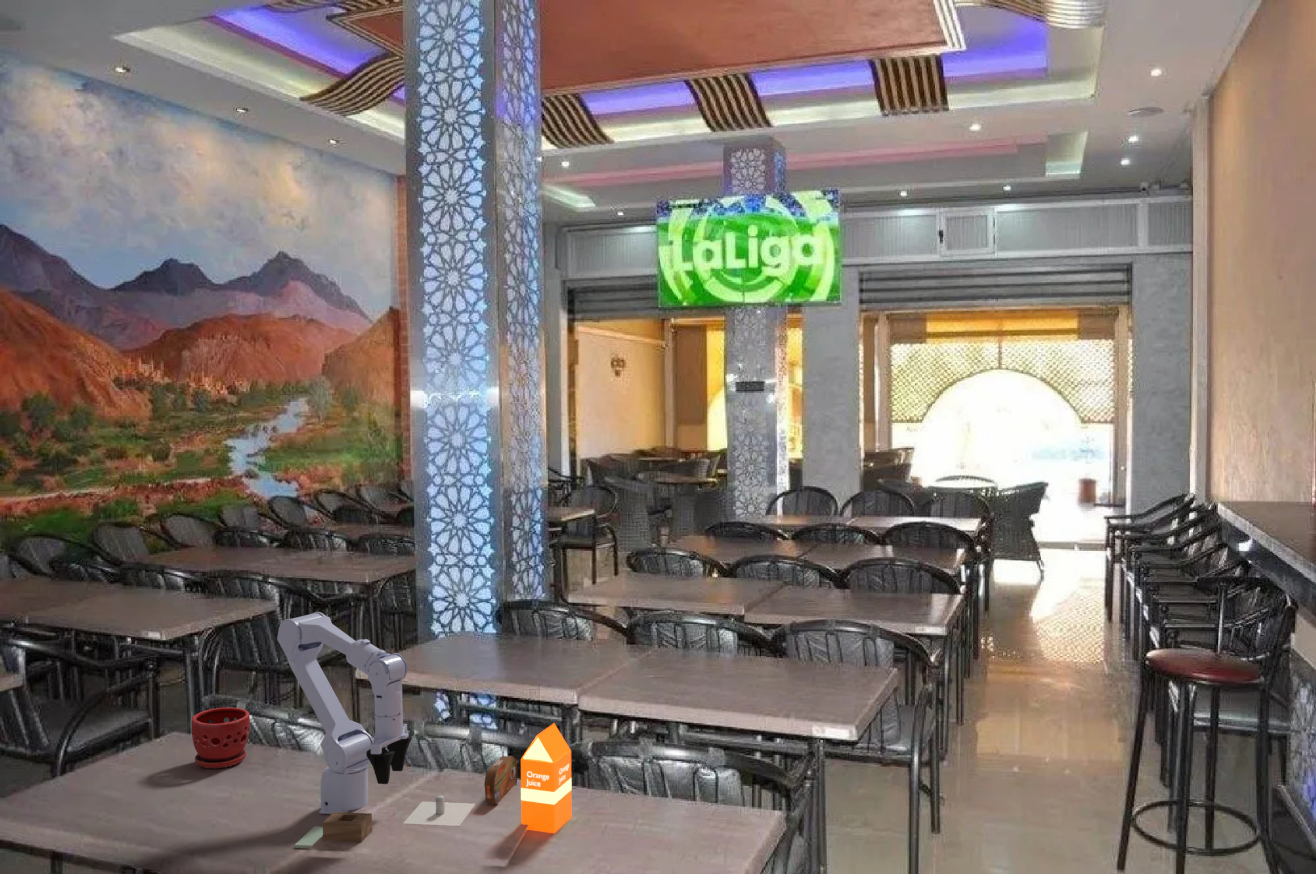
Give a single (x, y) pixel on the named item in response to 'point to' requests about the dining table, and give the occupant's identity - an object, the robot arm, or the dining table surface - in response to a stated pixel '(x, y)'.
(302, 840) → the mat
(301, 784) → the dining table surface
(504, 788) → the tin
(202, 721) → the plant pot
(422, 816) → the stand
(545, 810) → the orange juice
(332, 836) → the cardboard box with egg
